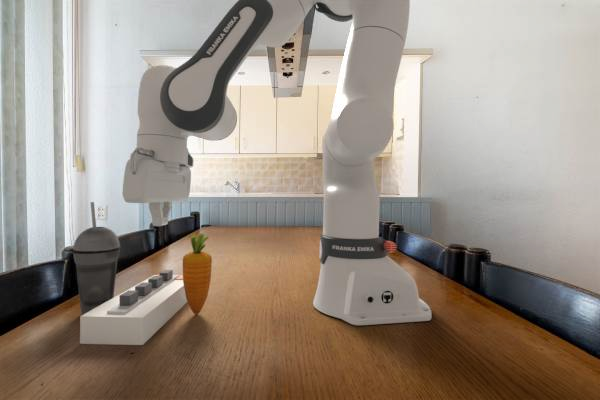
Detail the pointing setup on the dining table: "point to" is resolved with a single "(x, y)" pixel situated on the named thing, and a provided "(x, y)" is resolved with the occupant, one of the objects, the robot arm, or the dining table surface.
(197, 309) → the carrot
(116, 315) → the breaker panel
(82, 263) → the beverage cup
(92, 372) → the dining table surface
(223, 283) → the dining table surface
